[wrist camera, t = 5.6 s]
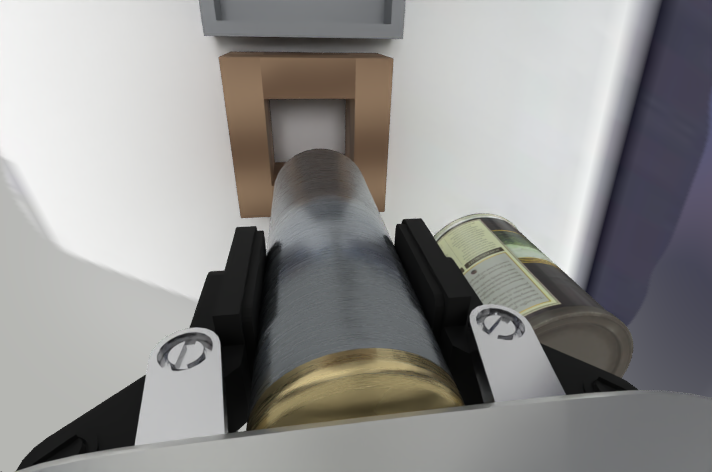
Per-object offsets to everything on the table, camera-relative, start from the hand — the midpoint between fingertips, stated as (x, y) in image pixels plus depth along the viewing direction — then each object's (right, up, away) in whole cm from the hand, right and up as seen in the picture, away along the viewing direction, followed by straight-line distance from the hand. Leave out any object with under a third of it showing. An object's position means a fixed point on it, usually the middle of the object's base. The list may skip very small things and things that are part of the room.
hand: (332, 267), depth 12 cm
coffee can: (+12, -1, +26) cm, 28 cm away
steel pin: (-1, +3, +5) cm, 6 cm away
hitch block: (-3, +9, +17) cm, 20 cm away
